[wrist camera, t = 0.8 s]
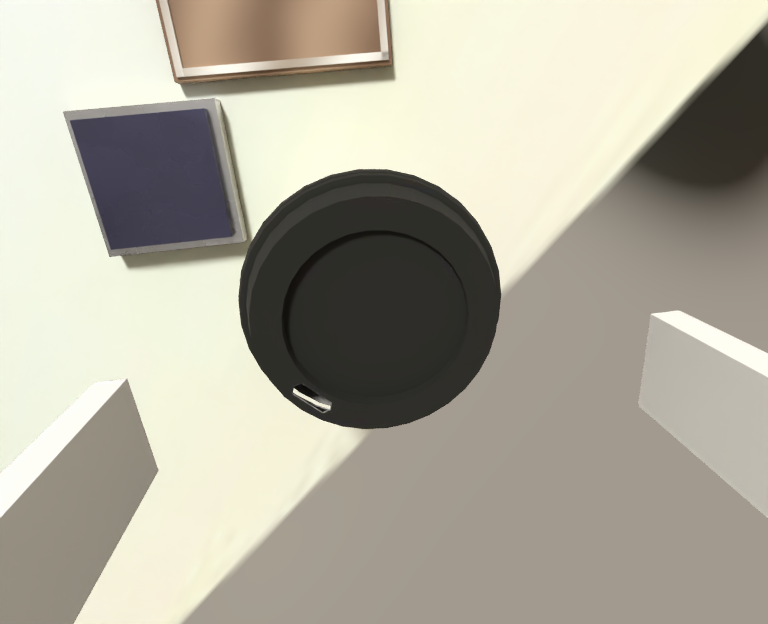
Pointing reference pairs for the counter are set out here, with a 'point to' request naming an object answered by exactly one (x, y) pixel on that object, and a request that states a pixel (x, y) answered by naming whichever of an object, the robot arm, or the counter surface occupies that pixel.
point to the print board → (273, 37)
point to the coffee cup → (370, 298)
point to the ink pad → (159, 175)
